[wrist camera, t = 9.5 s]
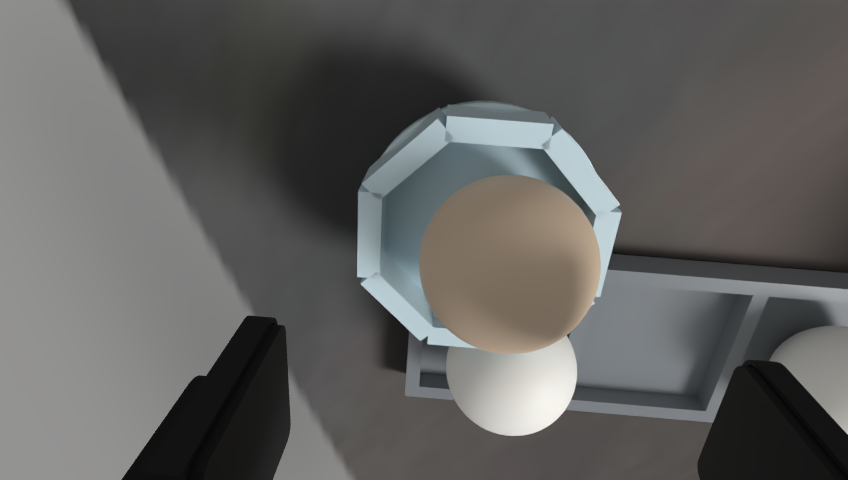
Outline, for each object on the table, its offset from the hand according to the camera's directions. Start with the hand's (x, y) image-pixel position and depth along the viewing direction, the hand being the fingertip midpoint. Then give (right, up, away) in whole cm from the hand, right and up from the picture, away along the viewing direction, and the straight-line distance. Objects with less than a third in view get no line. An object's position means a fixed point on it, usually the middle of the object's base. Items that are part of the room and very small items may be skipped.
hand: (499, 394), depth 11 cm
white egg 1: (+2, -1, +12) cm, 12 cm away
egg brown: (0, +4, +6) cm, 7 cm away
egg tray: (+8, -1, +12) cm, 14 cm away
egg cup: (0, +5, +9) cm, 11 cm away
